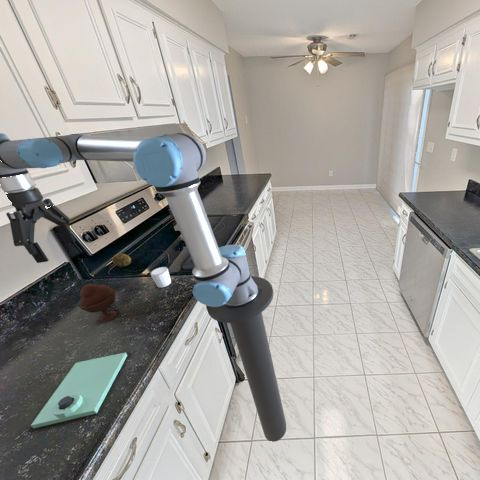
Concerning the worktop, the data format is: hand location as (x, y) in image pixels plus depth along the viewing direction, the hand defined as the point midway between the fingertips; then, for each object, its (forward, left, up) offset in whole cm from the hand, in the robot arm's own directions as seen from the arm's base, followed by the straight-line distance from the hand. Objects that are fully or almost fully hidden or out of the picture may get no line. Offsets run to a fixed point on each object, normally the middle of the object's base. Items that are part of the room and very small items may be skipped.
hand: (58, 251), depth 85 cm
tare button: (-13, +39, -26) cm, 49 cm away
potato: (+6, -39, -29) cm, 49 cm away
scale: (-13, +33, -29) cm, 46 cm away
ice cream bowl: (-5, +2, -29) cm, 29 cm away
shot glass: (-20, -15, -29) cm, 38 cm away
